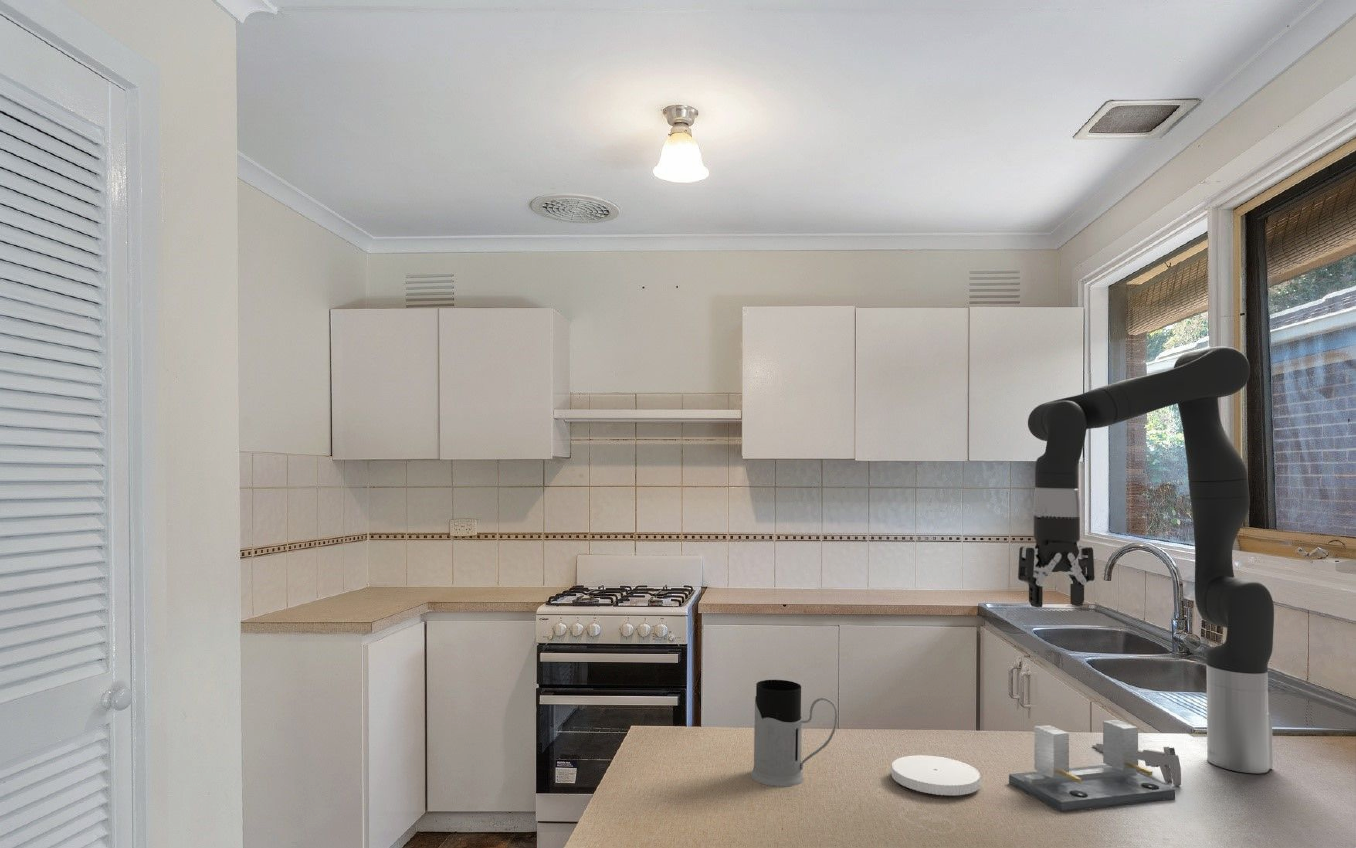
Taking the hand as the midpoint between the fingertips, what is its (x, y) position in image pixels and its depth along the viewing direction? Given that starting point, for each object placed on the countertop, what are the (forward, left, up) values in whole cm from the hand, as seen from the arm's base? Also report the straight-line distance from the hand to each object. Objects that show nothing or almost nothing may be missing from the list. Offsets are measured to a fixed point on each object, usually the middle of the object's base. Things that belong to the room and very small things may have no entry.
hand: (1056, 606), depth 149 cm
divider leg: (+8, +10, -25) cm, 29 cm away
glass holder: (+47, -6, -28) cm, 55 cm away
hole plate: (+2, +10, -28) cm, 30 cm away
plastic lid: (+25, +1, -29) cm, 38 cm away
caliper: (-15, +2, -29) cm, 32 cm away
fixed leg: (-6, +10, -25) cm, 28 cm away
